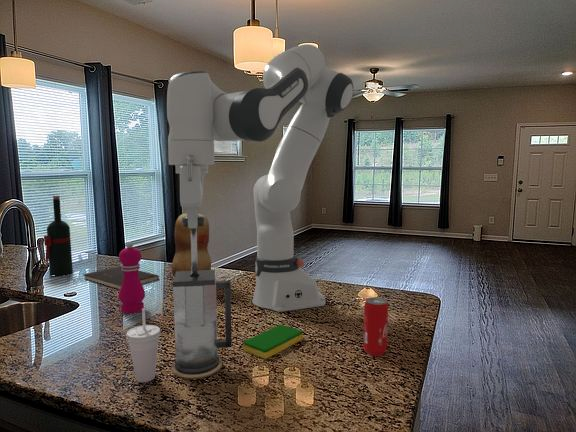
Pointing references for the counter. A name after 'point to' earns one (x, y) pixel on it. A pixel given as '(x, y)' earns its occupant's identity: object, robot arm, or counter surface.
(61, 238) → the wine bottle
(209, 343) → the press carafe
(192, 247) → the plunger
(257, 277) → the robot arm
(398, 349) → the counter surface
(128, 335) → the smoothie
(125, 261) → the pepper mill
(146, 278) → the hardcover book
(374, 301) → the beverage can
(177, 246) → the butternut squash
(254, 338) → the dish sponge
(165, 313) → the counter surface
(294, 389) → the counter surface
